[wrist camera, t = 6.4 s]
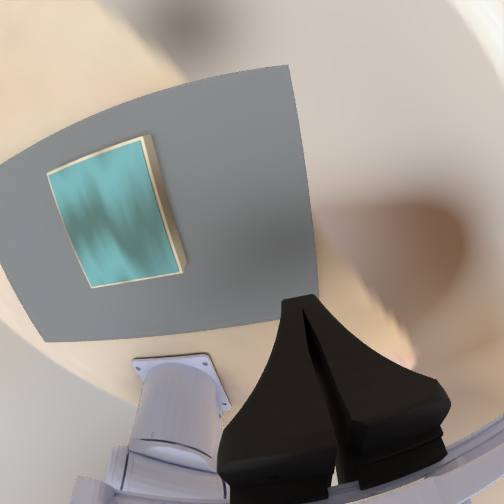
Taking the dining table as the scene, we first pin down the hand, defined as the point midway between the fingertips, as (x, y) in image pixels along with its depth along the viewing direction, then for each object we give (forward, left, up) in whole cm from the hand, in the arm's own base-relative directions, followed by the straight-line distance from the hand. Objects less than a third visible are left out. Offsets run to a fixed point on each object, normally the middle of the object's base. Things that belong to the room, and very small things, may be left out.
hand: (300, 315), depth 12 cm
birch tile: (+4, +6, -8) cm, 11 cm away
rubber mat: (+2, +12, -9) cm, 15 cm away
